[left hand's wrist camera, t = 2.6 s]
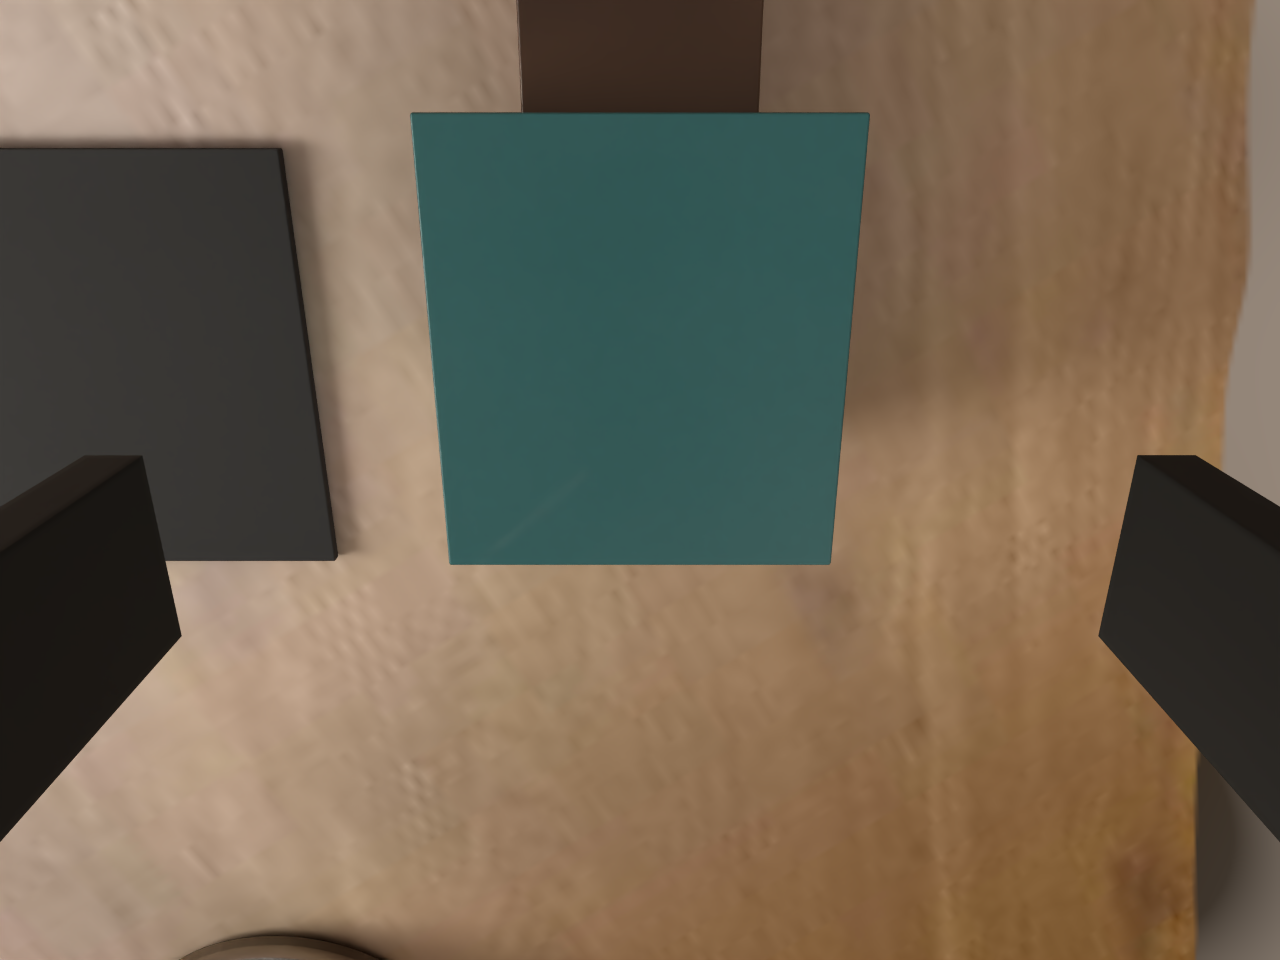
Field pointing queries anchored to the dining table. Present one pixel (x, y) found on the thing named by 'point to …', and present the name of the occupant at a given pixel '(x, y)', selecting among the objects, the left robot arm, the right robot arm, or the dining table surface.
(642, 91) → the walnut case
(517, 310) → the teal flat block
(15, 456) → the rubber mat
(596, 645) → the dining table surface
